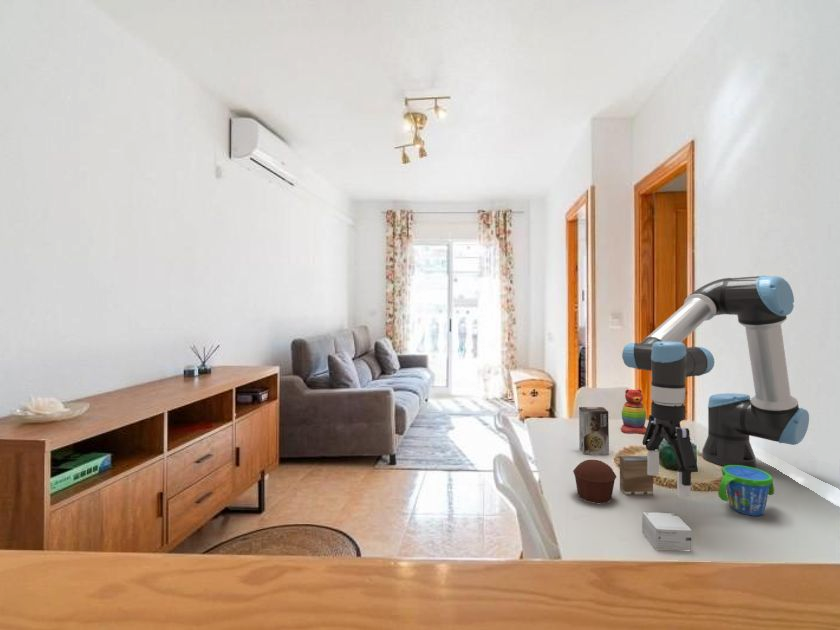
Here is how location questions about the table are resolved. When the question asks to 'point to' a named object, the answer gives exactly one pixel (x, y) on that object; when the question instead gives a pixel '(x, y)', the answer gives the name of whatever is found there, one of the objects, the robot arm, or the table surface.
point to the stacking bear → (633, 413)
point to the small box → (666, 531)
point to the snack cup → (745, 488)
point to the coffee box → (593, 430)
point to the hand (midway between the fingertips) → (667, 485)
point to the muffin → (594, 481)
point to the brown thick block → (635, 476)
